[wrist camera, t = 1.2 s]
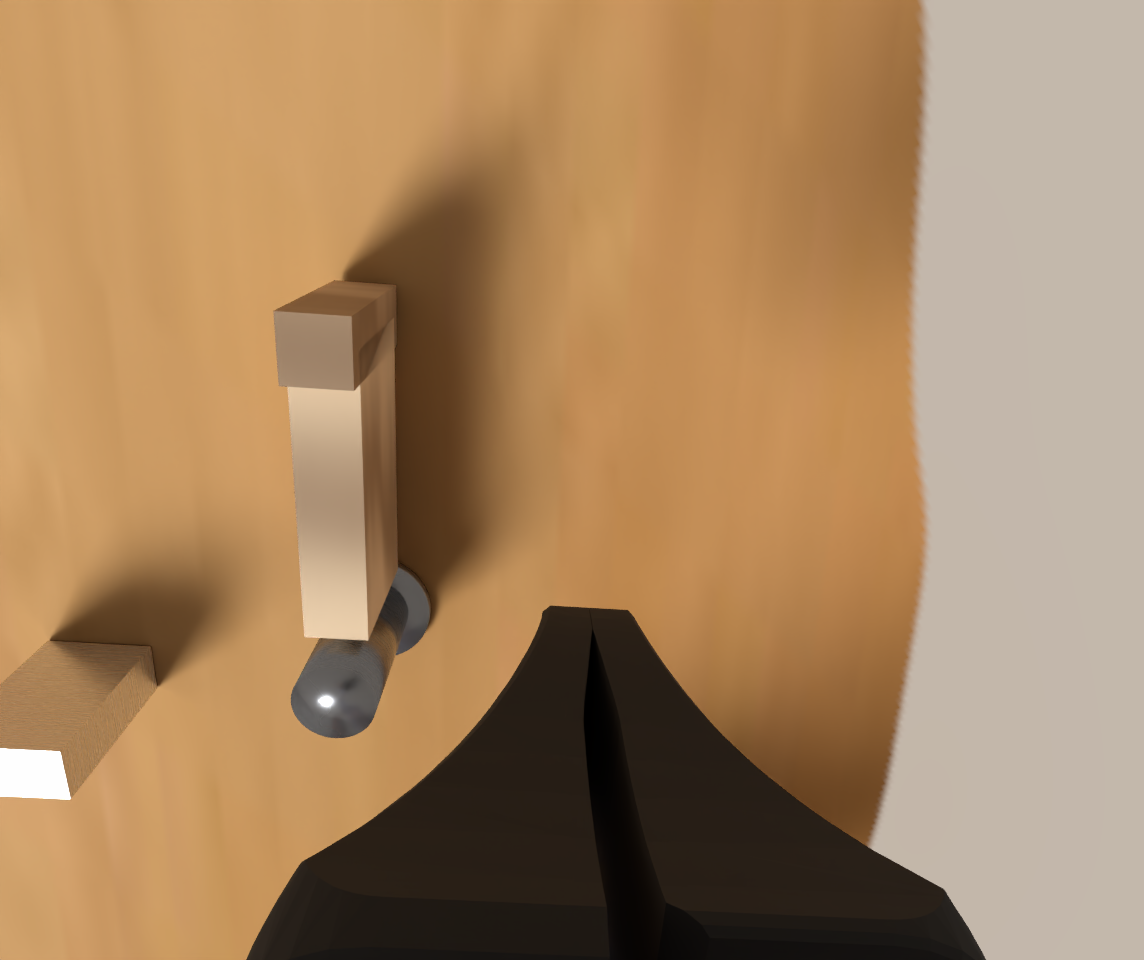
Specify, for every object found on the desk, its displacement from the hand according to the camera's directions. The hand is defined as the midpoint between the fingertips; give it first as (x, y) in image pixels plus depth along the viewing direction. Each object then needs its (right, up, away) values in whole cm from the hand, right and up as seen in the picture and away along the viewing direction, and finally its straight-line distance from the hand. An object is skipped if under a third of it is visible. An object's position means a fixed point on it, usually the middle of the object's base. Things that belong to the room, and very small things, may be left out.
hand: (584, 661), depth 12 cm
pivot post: (-6, -1, +10) cm, 12 cm away
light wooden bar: (-6, +4, +8) cm, 11 cm away
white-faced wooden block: (-14, -3, +11) cm, 18 cm away
